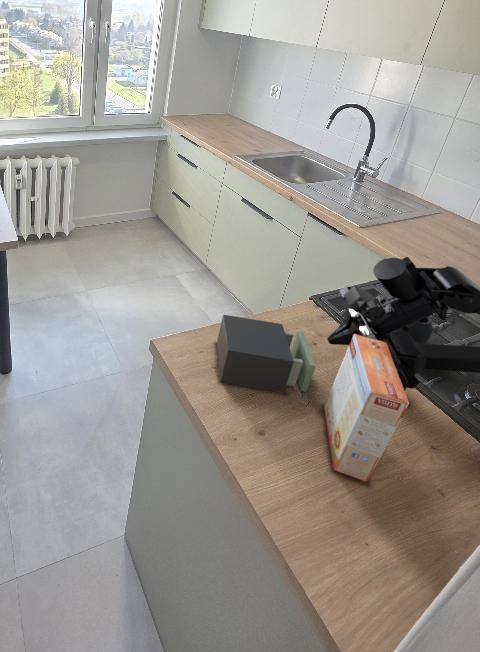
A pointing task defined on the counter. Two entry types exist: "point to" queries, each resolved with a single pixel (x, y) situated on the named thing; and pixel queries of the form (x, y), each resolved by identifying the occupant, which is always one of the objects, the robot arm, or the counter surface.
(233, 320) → the cabinet
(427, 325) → the mug
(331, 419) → the cracker box
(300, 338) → the drawer
